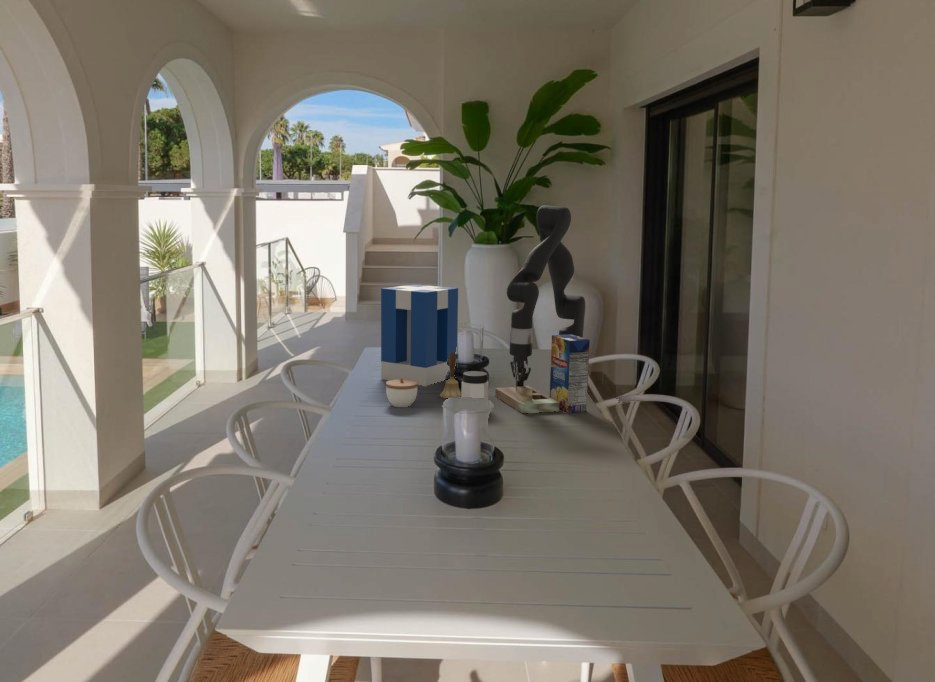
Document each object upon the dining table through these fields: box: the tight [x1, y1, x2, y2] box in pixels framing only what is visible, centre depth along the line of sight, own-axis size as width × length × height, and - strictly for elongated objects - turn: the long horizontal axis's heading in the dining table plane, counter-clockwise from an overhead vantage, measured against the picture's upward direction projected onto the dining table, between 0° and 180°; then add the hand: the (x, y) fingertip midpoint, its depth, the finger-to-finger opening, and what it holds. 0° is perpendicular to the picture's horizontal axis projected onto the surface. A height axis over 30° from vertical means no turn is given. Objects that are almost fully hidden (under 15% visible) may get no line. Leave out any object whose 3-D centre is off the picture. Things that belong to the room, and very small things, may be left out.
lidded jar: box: [385, 378, 419, 408], centre depth 265 cm, size 11×11×9 cm
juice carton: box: [549, 334, 591, 414], centre depth 264 cm, size 12×8×24 cm, turn 23°
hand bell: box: [439, 352, 462, 399], centre depth 278 cm, size 8×8×16 cm
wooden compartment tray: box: [494, 385, 560, 414], centre depth 271 cm, size 13×25×3 cm, turn 19°
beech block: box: [516, 385, 533, 401], centre depth 264 cm, size 4×4×4 cm
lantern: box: [380, 284, 459, 387], centre depth 305 cm, size 21×21×35 cm
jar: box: [460, 370, 489, 400], centre depth 261 cm, size 9×8×12 cm
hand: (519, 391), depth 267 cm, fingers closed
